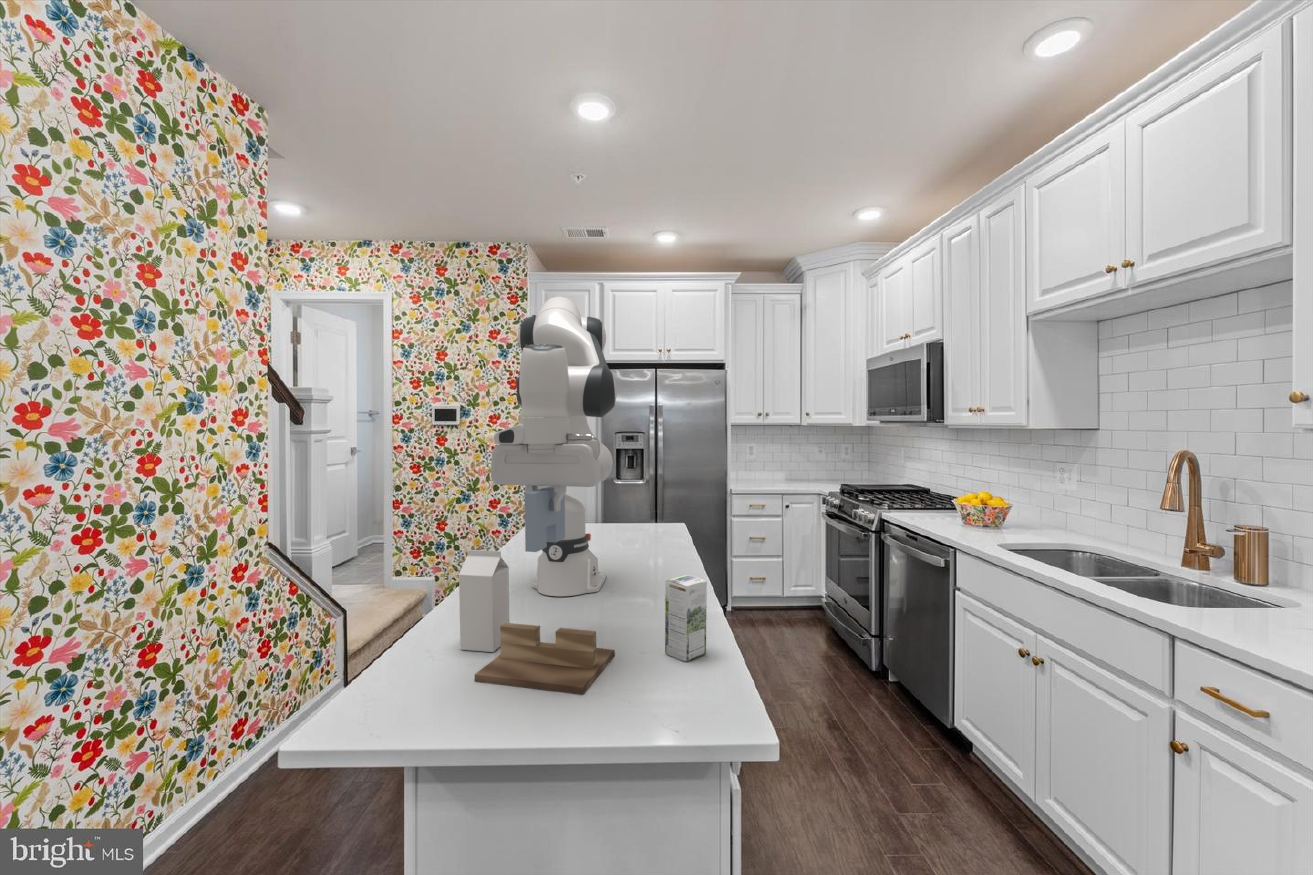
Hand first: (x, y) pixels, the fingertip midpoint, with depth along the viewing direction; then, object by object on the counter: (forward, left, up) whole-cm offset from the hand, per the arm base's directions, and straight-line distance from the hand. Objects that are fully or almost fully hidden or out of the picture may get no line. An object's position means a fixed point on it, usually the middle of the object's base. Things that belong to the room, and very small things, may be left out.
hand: (546, 510), depth 104 cm
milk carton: (-7, -17, -29) cm, 34 cm away
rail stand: (0, 0, -29) cm, 29 cm away
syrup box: (-12, +23, -29) cm, 39 cm away
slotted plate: (0, 0, -6) cm, 6 cm away
